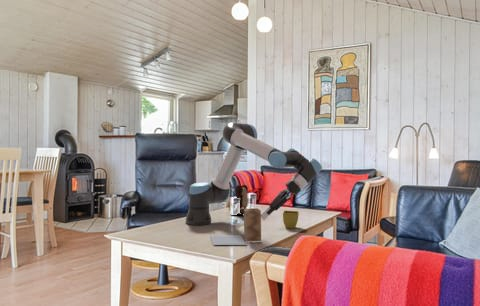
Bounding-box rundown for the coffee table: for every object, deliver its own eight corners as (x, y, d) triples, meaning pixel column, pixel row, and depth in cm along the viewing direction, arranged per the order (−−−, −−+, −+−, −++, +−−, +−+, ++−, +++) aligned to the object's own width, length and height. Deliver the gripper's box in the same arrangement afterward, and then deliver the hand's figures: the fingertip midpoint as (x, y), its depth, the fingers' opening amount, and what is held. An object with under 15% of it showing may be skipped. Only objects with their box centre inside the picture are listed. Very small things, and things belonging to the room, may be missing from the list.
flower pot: (297, 229, 215) (298, 213, 215) (282, 228, 217) (282, 212, 217) (298, 226, 224) (299, 211, 224) (283, 225, 226) (284, 210, 226)
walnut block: (246, 242, 182) (246, 211, 181) (244, 239, 189) (243, 209, 188) (261, 241, 183) (260, 210, 183) (258, 238, 190) (257, 208, 189)
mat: (213, 246, 174) (213, 244, 174) (210, 236, 191) (210, 235, 191) (246, 245, 176) (246, 244, 176) (240, 236, 194) (240, 235, 194)
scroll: (244, 217, 248) (245, 186, 247) (225, 214, 255) (226, 185, 255) (255, 214, 260) (256, 185, 260) (237, 212, 268) (238, 183, 268)
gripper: (305, 191, 182) (270, 226, 180) (297, 188, 195) (264, 221, 193) (295, 180, 181) (259, 215, 179) (287, 177, 194) (254, 210, 192)
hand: (262, 218), depth 186 cm, fingers closed
